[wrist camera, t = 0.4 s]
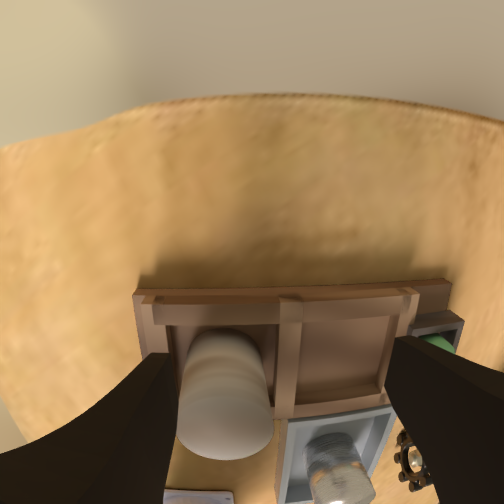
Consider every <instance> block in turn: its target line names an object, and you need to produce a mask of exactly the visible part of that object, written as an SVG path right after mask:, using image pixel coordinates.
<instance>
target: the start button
mask: <svg viewBox="0 0 504 504" xmlns="http://www.w3.org/2000/svg"><path fill="white" fill-rule="evenodd" d="M419 338H420V339H422V340H425V341H427V342H429V343H432V344H434V345H436V346H438V347H440V348H443V349H445V350H447V351H449V352H451V353H453V354H455V349H454V347H453V346H452V345H451V344H450V343H449V342H448V341H446V340H445V339H444V338H443V337H442V336H441V335H440V334H439V333H432V334H426V335H422V336H420V337H419Z"/></svg>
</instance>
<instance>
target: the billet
mask: <svg viewBox="0 0 504 504" xmlns="http://www.w3.org/2000/svg"><path fill="white" fill-rule="evenodd" d="M302 458H303V462H304V466H305V470H306V474H307V478H308V481H309V485H310V489H311V493H312V497H313V501H314V504H369V503H370V502H371V501H372V500H373V499H374V498H375V495H376V492H375V490H374V488H373V485H372V483H371V481H370V478H369V476H368V474H367V471H366V469H365V467H364V464H363V462H362V460H361V457H360V455H359V453H358V451H357V448H356V446H355V444H354V441H353V439H352V437H351V436H350V435H348V434H346V433H342V432H333V433H328V434H324V435H321V436H319V437H317V438H315V439H313V440H312V441H310V442H309V443H308V444H307V445H306V446H305V447H304V449H303V451H302Z"/></svg>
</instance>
